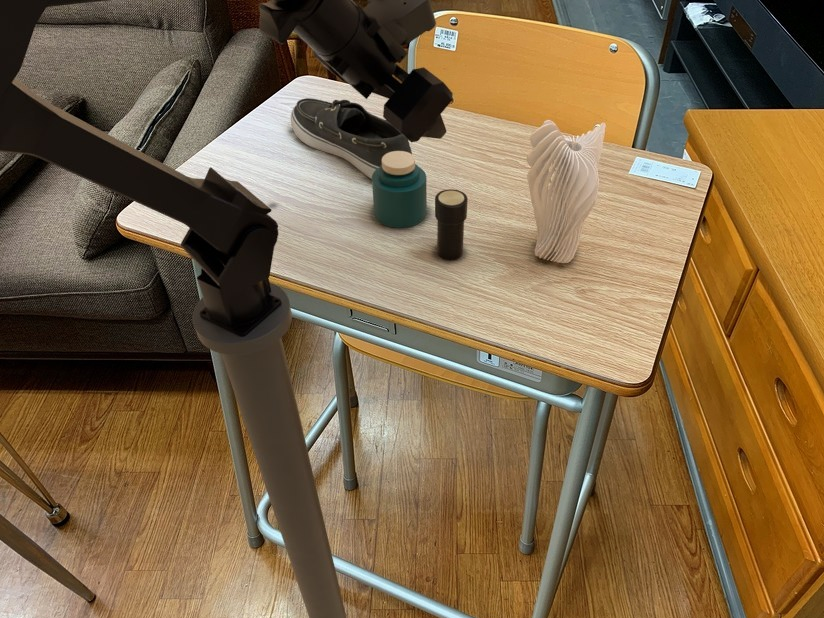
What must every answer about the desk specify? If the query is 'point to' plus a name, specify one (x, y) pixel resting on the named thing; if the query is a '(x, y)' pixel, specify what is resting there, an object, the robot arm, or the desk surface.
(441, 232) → the flashlight
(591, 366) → the desk surface
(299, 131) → the boat shoe
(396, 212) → the bottle
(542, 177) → the beige finned vase
